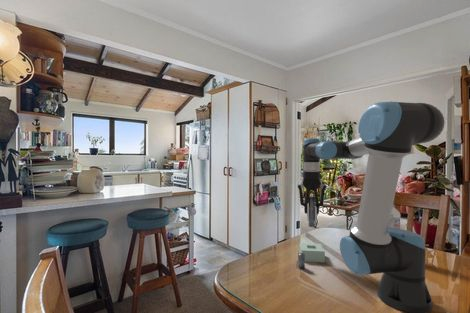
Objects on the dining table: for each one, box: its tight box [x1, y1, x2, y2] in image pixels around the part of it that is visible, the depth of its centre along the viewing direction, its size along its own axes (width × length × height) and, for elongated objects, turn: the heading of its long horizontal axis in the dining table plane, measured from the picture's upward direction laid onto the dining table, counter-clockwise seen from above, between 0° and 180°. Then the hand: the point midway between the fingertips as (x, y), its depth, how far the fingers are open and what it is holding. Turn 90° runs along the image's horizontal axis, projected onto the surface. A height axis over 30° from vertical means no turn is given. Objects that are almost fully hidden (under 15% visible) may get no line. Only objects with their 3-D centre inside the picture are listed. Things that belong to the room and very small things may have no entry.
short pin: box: [297, 252, 306, 270], centre depth 108 cm, size 3×3×6 cm
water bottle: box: [388, 203, 402, 229], centre depth 120 cm, size 7×7×25 cm
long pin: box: [308, 195, 316, 228], centre depth 119 cm, size 3×3×14 cm
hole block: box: [299, 242, 326, 263], centre depth 119 cm, size 10×10×5 cm
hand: (311, 220), depth 119 cm, fingers closed on long pin, 3 cm apart
